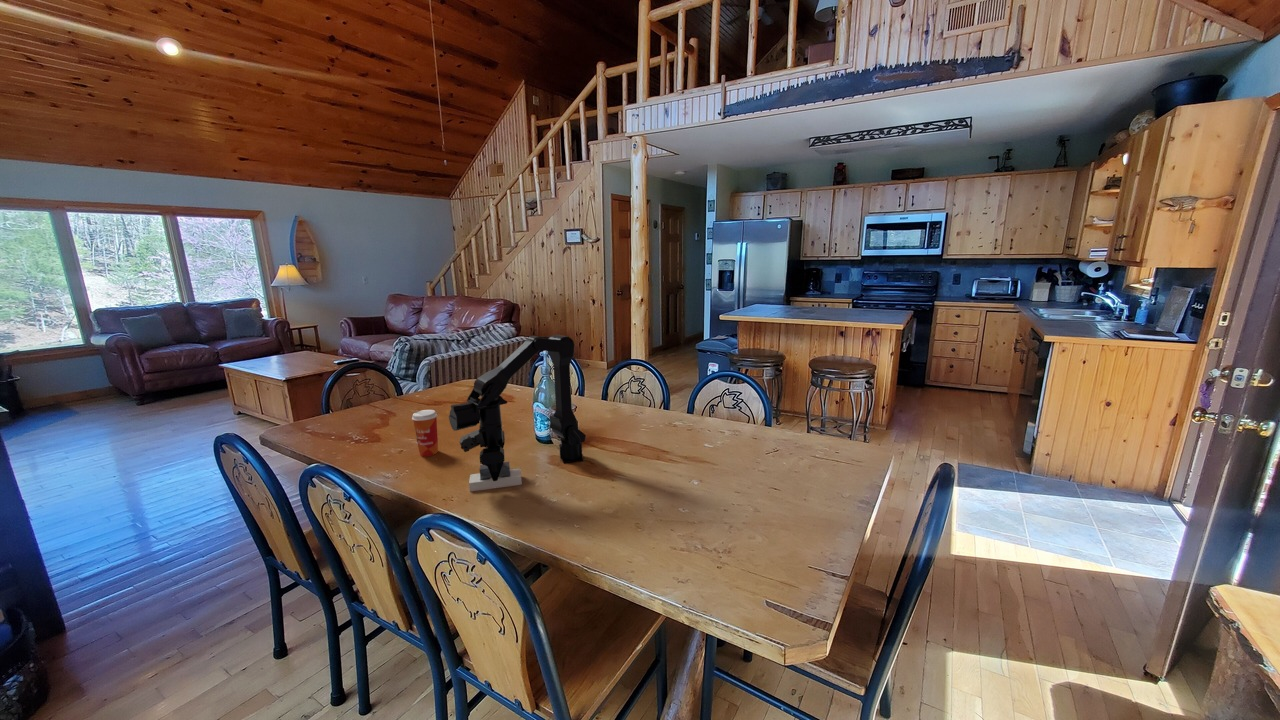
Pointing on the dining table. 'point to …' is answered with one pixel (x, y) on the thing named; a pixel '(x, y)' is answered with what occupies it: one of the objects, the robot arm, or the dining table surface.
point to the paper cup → (426, 432)
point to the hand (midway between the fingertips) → (495, 473)
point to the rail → (480, 484)
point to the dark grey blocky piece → (486, 474)
